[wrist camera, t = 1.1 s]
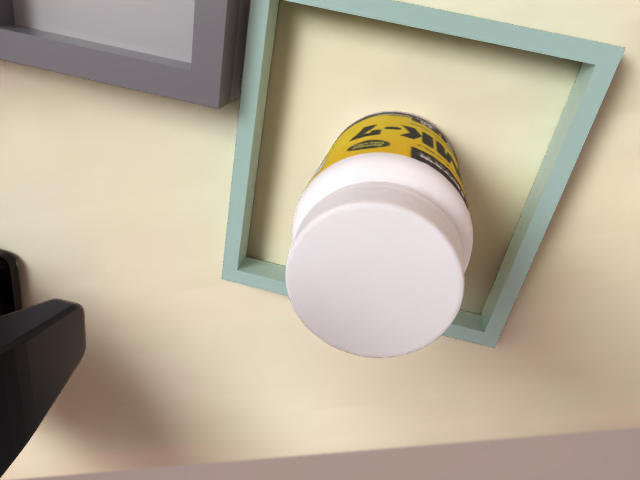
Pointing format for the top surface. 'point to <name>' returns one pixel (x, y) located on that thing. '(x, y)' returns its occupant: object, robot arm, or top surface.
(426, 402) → the top surface
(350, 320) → the supplement bottle
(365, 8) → the green square frame
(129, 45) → the grey socket tray
